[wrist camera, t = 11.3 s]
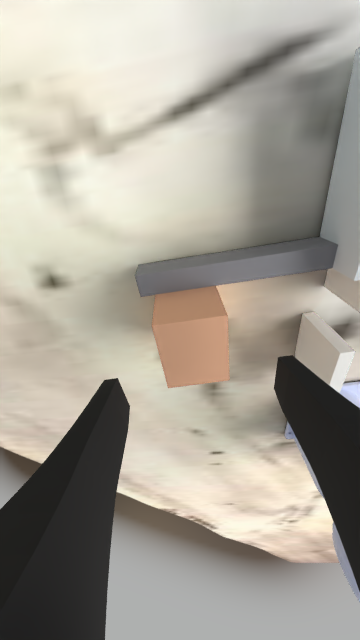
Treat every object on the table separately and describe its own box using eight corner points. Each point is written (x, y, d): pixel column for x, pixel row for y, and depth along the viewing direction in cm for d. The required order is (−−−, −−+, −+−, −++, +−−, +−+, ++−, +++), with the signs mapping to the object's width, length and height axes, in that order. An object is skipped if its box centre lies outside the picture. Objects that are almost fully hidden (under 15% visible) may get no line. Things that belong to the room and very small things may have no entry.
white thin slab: (310, 366, 22) (342, 411, 18) (292, 368, 23) (319, 413, 18) (378, 91, 11) (498, 44, 7) (343, 97, 12) (441, 55, 7)
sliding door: (329, 256, 16) (372, 278, 13) (143, 284, 17) (137, 312, 13) (377, 45, 10) (476, -15, 7) (96, 99, 11) (64, 67, 8)
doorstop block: (213, 326, 19) (229, 380, 14) (168, 332, 20) (168, 388, 15) (210, 272, 17) (227, 315, 12) (157, 280, 17) (151, 326, 12)
